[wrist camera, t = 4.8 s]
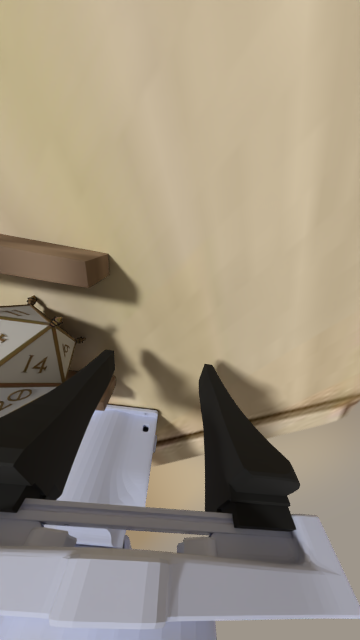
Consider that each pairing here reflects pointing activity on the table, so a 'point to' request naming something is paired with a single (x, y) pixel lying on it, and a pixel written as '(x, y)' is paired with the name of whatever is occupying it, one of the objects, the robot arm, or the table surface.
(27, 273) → the walnut chute
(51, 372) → the game die
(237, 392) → the table surface
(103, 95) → the table surface
